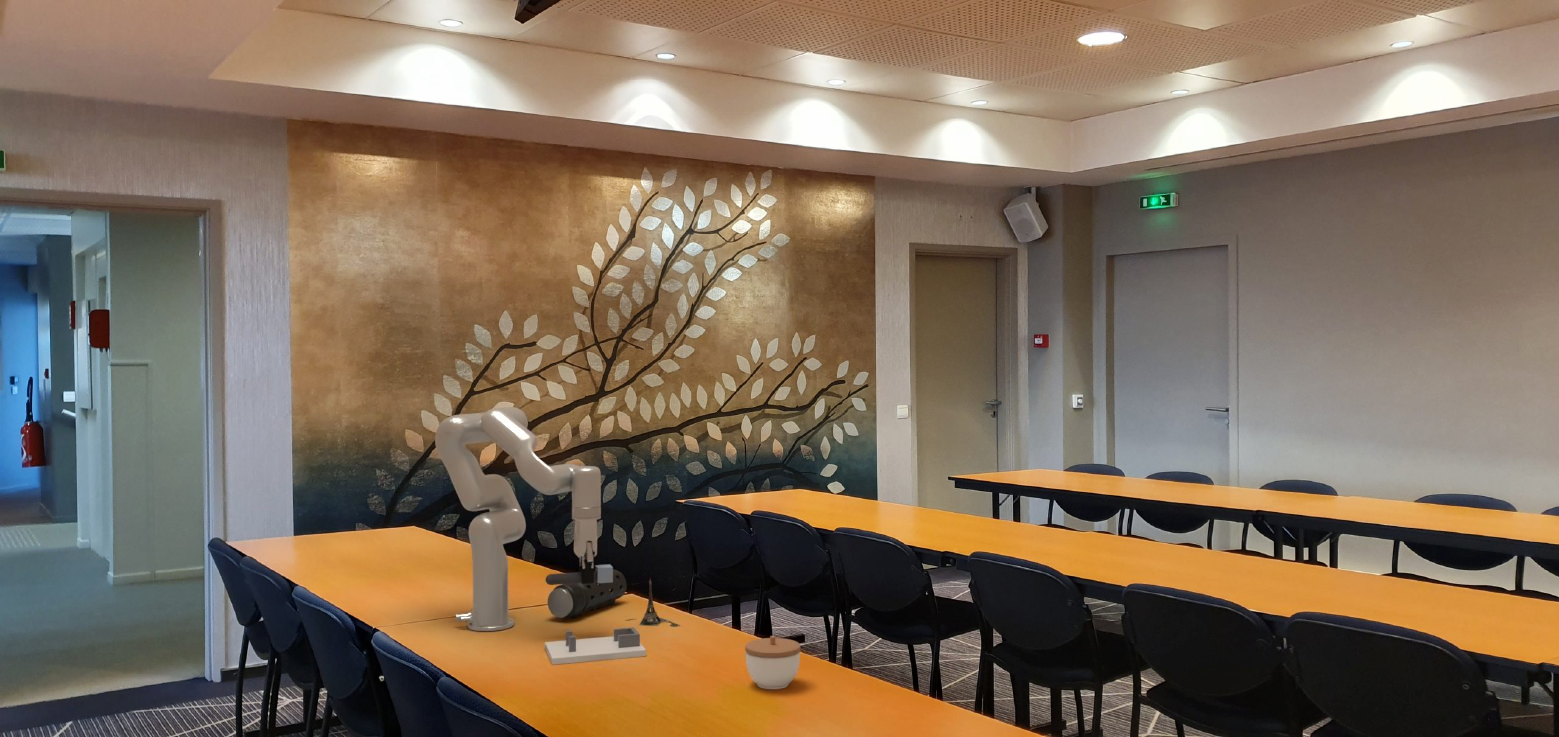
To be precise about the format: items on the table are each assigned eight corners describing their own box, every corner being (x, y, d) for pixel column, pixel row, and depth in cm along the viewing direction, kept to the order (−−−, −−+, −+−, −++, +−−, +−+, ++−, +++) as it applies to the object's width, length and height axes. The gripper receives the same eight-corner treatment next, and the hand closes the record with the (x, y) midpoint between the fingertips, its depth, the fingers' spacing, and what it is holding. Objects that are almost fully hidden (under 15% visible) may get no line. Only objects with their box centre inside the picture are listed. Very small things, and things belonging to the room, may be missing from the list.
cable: (546, 586, 287) (546, 571, 287) (544, 583, 291) (544, 568, 291) (612, 582, 293) (612, 567, 293) (610, 579, 297) (610, 564, 296)
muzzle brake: (627, 603, 332) (627, 569, 332) (573, 624, 307) (572, 587, 307) (601, 600, 336) (601, 567, 336) (545, 621, 311) (544, 584, 311)
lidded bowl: (781, 696, 242) (781, 646, 242) (734, 687, 248) (734, 638, 248) (810, 681, 252) (810, 633, 252) (764, 673, 259) (764, 626, 259)
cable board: (552, 664, 267) (552, 643, 267) (544, 647, 282) (544, 628, 282) (646, 655, 275) (645, 635, 274) (633, 640, 290) (633, 620, 290)
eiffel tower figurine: (681, 627, 305) (681, 579, 305) (649, 632, 299) (648, 583, 299) (655, 617, 317) (655, 570, 317) (623, 622, 311) (623, 575, 311)
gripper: (567, 509, 299) (568, 576, 299) (576, 518, 283) (576, 589, 284) (595, 508, 301) (595, 575, 301) (605, 516, 286) (605, 587, 286)
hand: (586, 581), depth 293 cm, fingers closed on cable, 2 cm apart
